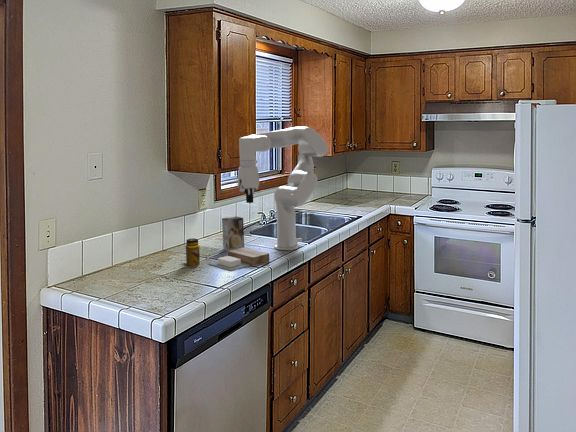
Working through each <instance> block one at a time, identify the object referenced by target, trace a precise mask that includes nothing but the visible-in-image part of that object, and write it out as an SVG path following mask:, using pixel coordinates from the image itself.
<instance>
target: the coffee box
mask: <svg viewBox="0 0 576 432" xmlns="http://www.w3.org/2000/svg"><path fill="white" fill-rule="evenodd" d="M221 226H222V246H223V247H222V249H223V250H225V251H227V252H228V251H230V250H234V249H239V248H243V247H245V231H244V230H245V229H244V218H243V217H242V216H241V217H240V216H230V217H223V218H222V217H221Z"/></svg>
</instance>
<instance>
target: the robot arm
mask: <svg viewBox="0 0 576 432" xmlns="http://www.w3.org/2000/svg"><path fill="white" fill-rule="evenodd" d="M294 145H298V146H297V147H298V148H297V149H298V156H299V160H298V163H297V165H296V166H295V167H294V169H293V170H292V171H291V173H290V175H289V176H288V178H287V185H288V186H287V185H282V186H279V187H277V188H276V189H275V190H274V201H275V203H274V204H275V207H276V209H275V210H276V244H274V245H273V248H274V249H275V250H279V251H294V250H297V249H299V248H300V245H299V244H298V243H300V242H302V241H303V238H302V237H296V236H297V235H296V229H297V227H296V223H297V221H296V210H295V207H297V208H301V207H303V206H304V205H305V204H306V203H307V201H308V200H309V199H310V197H311V196H312V195H313V193H314V191H315V190H316V188H317V186H318V177H317V175H316V174H315V172H313V170H315V169H314V167H315V165H314V160H313V157H318V158H319V157H320V158H321V157H324V156H326V154H327V153H328V150H329V146H328V143H327V141H326V139H324V138H323V137H322V136H321V135H320V134H319V133H318V132H317V131H316V130H315V129H313V128H312V127H310V126H294V127H293V126H292V127H288V128H284V129H279V130H272V131H267V132H258V133H255V134H250V135H247V136H243V137H239V138H238V146H239V147H238V149H239V167H238V170H237V187H238V189H239V192H241V193H244V194H245V197H246V198H245V199H246V200H245V202H246V203H247V204H252V203H254V194H255V192H256V190H258V189H259V186H260V174H259V169H258V166H257V164H258V160H257V154H256V153H257V152H259V153H260V152H261V153H265V152H268V151H269V150H270V149H271V148H272V149H280V148H281V149H282V148H285V147H290V146H294Z"/></svg>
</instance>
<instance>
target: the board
mask: <svg viewBox="0 0 576 432" xmlns="http://www.w3.org/2000/svg"><path fill="white" fill-rule="evenodd" d="M227 256H231V257H234V258H238V259H241V262H242V263H246V264H249V265H251V266H250V267H256V266H260V265H263V264H266V263H270V252H269V253H268V252H266V251H260V250H256V249H252V248H247V247H245V246H244V247H243V248H239V249H234V250H230V251H227ZM255 265H256V266H255Z"/></svg>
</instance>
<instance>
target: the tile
mask: <svg viewBox="0 0 576 432" xmlns="http://www.w3.org/2000/svg"><path fill="white" fill-rule="evenodd" d="M217 261H218V264H221V265H225V266H228V267H233V266H237V265H241V259H238V258H234V257H231V256H228V255H225V256H221V257H217Z"/></svg>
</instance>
